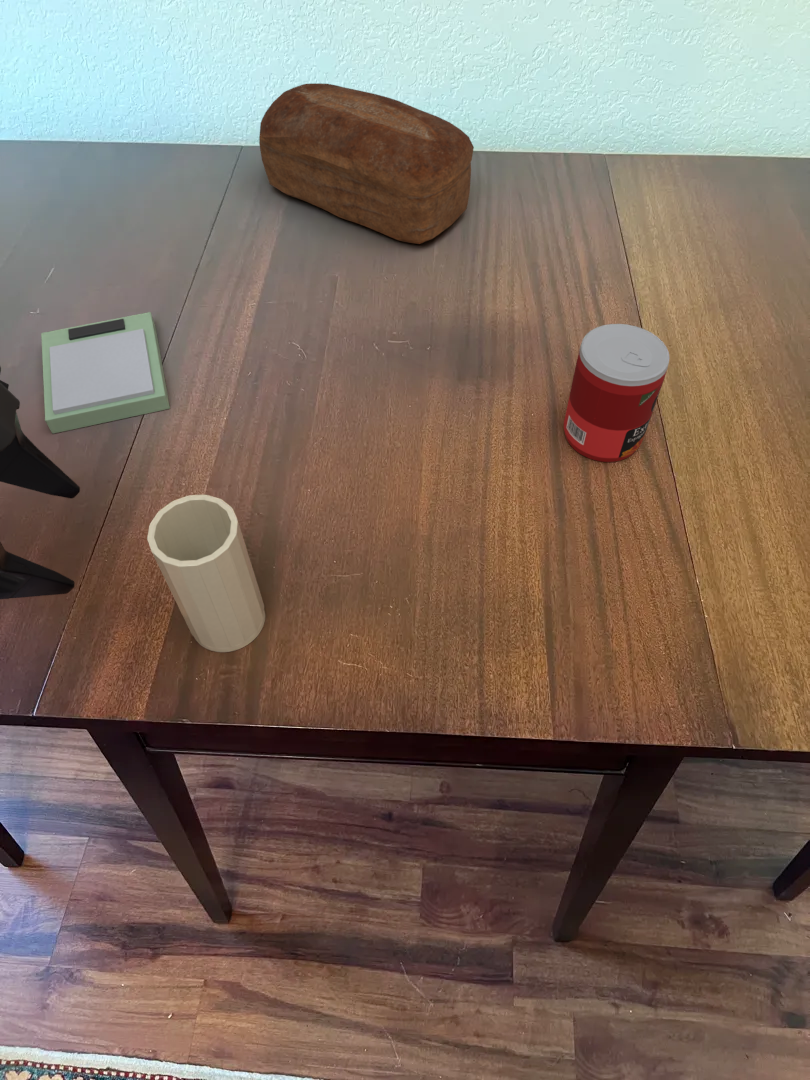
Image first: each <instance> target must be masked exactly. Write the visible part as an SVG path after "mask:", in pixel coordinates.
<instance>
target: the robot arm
mask: <svg viewBox="0 0 810 1080" xmlns="http://www.w3.org/2000/svg"><path fill="white" fill-rule="evenodd" d="M1 372H2V367H1V366H0V374H1ZM9 386H10V384H9V383H7V382H5V381H4V380H1V379H0V482H1V483H3V484H7V485H12V486H15V487H19V488H23V489H27V490H31V491H34V492H38V493H41V494H46V495H48V496H49V495H50V496H55V497H59V498H64V499H65V498H66V499H74V498H76V497H77V496H78V495H79V494H80V493H81V487H80V486H79V485H78V484H77V482H76V481H74V480H73V479H72V478H71V477H70V476H68V475H67V474H66V473H65V472H64V471H63V470H62V469H61V468H60V467H59V466H57V464H55V463H54V462H53V460H51V459H50V458H49V457H48V456H47V455H45V453H44V452H42V451H41V450H40V449H39V447H37V446H36V445H35V444H34V443H33V441H31V439H30V438H28V437H27V435H25V433H24V431H23V430H22V427H21V423H20V419H19V417H18V413H17V410H19V409H20V406H21V402H20V399H18V398H17V397H16V395H15V394H13V393H12V392H11V391H10V390H9ZM75 584H76V581H74V580H73V579H72V578H70V577H67V576H65V575H64V574H62V573H60V572H58V571H56V570H54V569H51V568H49V567H47V566H43V565H41V564H38V563H36V562H34V561H32V560H29V559H26V558H24V557H21V556H19V555H16V554H14V553H12V552H9V551H7V550H6V549H5V547H4V545H3V544H2V542H1V541H0V600H7V599H8V600H9V599H20V598H32V597H33V598H34V597H44V596H45V597H46V596H57V595H67V594H68V593H70V592H71V591H72V590H73V589H74V588H75V586H76V585H75Z"/></svg>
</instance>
